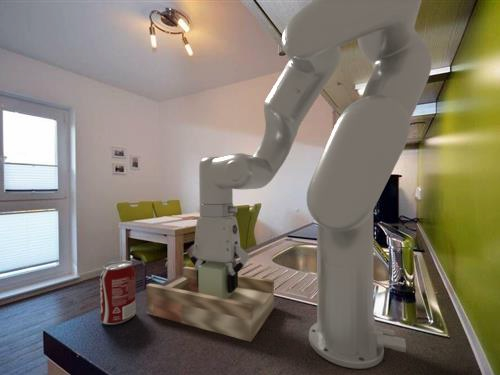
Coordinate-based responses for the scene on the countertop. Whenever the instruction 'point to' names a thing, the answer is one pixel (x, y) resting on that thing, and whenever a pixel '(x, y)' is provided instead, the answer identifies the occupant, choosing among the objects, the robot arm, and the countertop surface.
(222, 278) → the sage block
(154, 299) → the channel track
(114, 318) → the soda can
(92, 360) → the countertop surface
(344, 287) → the robot arm
